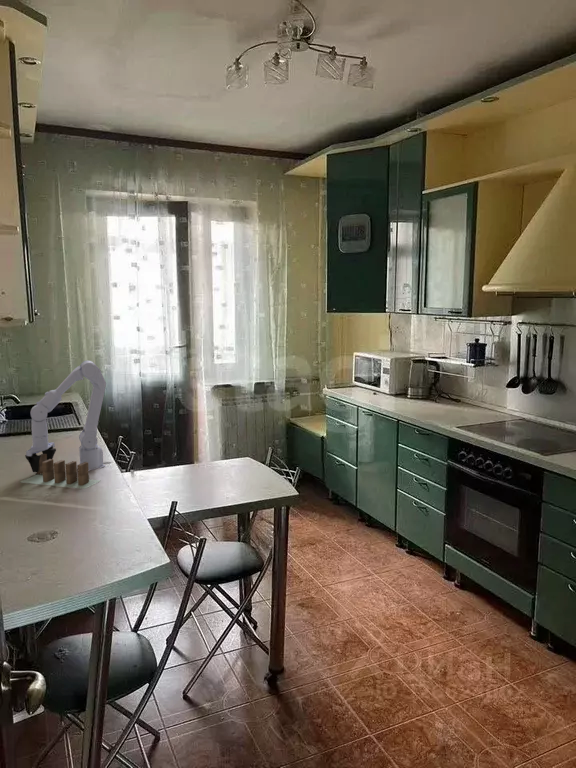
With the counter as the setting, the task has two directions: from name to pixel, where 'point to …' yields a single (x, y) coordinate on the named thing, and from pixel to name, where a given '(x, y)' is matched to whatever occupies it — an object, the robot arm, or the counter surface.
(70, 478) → the domino
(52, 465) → the domino
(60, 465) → the domino
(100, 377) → the robot arm
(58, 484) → the board
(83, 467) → the domino end
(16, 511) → the counter surface
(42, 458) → the domino
